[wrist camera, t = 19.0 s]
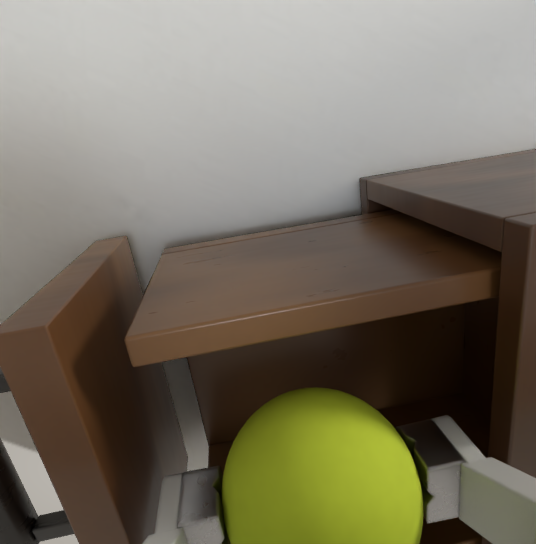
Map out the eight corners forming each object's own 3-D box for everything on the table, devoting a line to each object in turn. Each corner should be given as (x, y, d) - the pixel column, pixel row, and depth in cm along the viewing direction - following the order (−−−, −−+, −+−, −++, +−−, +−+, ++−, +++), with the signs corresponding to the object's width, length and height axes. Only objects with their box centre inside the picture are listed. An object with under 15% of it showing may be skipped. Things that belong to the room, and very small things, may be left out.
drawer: (64, 484, 19) (-33, 707, 11) (-33, 261, 15) (-274, 383, 7) (461, 399, 20) (602, 547, 13) (469, 177, 16) (678, 210, 9)
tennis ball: (235, 496, 13) (246, 698, 8) (205, 370, 11) (198, 536, 7) (378, 464, 13) (466, 641, 9) (371, 338, 12) (476, 474, 7)
